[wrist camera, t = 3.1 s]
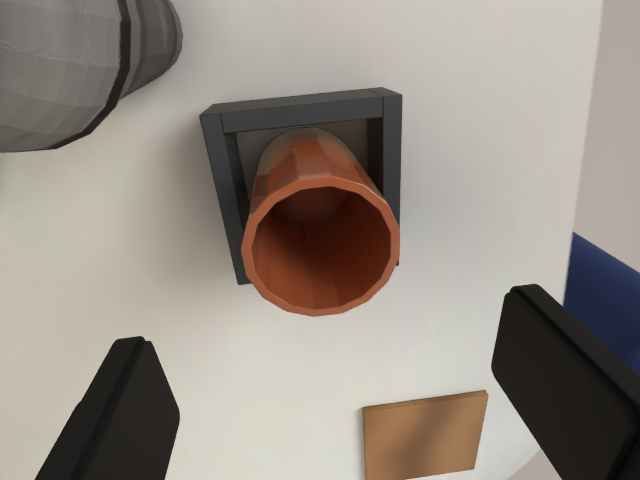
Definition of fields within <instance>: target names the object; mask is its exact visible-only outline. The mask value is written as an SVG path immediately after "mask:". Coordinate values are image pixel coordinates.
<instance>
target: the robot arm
mask: <svg viewBox="0 0 640 480" xmlns="http://www.w3.org/2000/svg"><path fill="white" fill-rule="evenodd" d="M491 368H492V372H493V375H494V377H495V379H496V380H497V382H498V383H499V385H500V386H501V388H502V389H503V391H504V392H505V394H506V395H507V397H508V399H509V400H510V402H511V403H512V405H513V406H514V408H515V409H516V411H517V412H518V414H519V415H520V417H521V418H522V420H523V421H524V423H525V424H526V426H527V427H528V429H529V430H530V432H531V433H532V435H533V436H534V438H535V439H536V441H537V442H538V444H539V445H540V447H541V448H542V450H543V451H544V453H545V454H546V456H547V458H548V459H549V461H550V462H551V464H552V465H553V467H554V468H555V470H556V471H557V473H558V474H559V476H560V477H561V479H562V480H640V376H639V375H638V374H637V373H636V372H634V371H633V370H632V369H631V368H630V367H629V366H628V365H627V364H626V363H624V362H623V361H622V360H621V359H620V358H619V357H618V356H617V355H616V354H615V353H613V352H612V351H611V350H610V349H609V348H608V347H607V346H606V345H605V344H603V343H602V342H601V341H600V340H599V339H598V338H597V337H596V336H595V335H594V334H592V333H591V332H590V331H589V330H588V329H587V328H586V327H585V326H584V325H582V324H581V323H580V322H579V321H578V320H577V319H576V318H575V317H574V316H573V315H571V314H570V313H569V312H568V311H567V310H566V309H565V308H564V307H563V306H561V305H560V304H559V303H558V302H557V301H556V300H555V299H554V298H553V297H552V296H550V295H549V294H548V293H547V292H546V291H545V290H544V289H543V288H542V287H540V286H539V285H537V284H529V285H522V286H515V287H512V288H511V289H510V292H509V293H507V294H506V295H505V297H504V302H503V307H502V312H501V317H500V322H499V327H498V333H497V338H496V343H495V348H494V353H493V358H492V363H491ZM179 422H180V413H179V408H178V406H177V403H176V401H175V398H174V396H173V393H172V391H171V388H170V386H169V383H168V381H167V378H166V376H165V374H164V371H163V369H162V366H161V364H160V361H159V359H158V356H157V354H156V351H155V349H154V346H153V344H152V342H151V341H145V339H144V338H143V337H142V336H138V337H130V338H123V339H117V340H116V341H115V342H114V343H113V345H112V346H111V348H110V350H109V352H108V354H107V355H106V357H105V359H104V361H103V363H102V364H101V366H100V368H99V370H98V372H97V373H96V375H95V377H94V379H93V381H92V382H91V384H90V386H89V388H88V390H87V391H86V393H85V395H84V397H83V399H82V400H81V401H80V402H79V403H78V405H77V406H76V407H75V409H74V411H73V412H72V414H71V416H70V418H69V419H68V421H67V423H66V425H65V427H64V428H63V430H62V432H61V434H60V435H59V437H58V439H57V441H56V443H55V444H54V446H53V448H52V450H51V451H50V453H49V455H48V457H47V459H46V460H45V462H44V464H43V466H42V467H41V469H40V471H39V473H38V475H37V476H36V478H35V480H165V476H166V472H167V468H168V465H169V461H170V457H171V453H172V449H173V446H174V442H175V438H176V434H177V430H178V426H179Z"/></svg>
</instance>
